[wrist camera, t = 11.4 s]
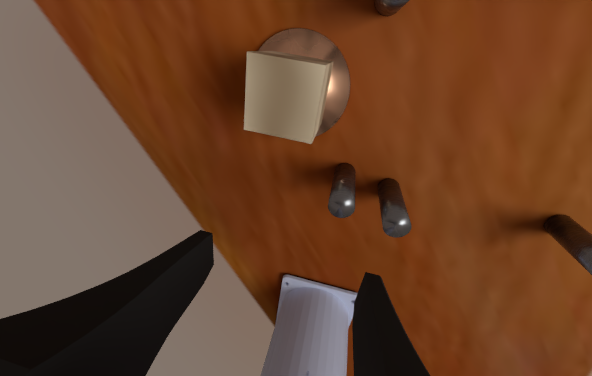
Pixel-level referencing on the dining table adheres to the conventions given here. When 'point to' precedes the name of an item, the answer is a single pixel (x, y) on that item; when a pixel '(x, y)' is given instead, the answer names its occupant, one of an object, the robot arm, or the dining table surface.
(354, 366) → the robot arm
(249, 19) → the dining table surface
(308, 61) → the block
